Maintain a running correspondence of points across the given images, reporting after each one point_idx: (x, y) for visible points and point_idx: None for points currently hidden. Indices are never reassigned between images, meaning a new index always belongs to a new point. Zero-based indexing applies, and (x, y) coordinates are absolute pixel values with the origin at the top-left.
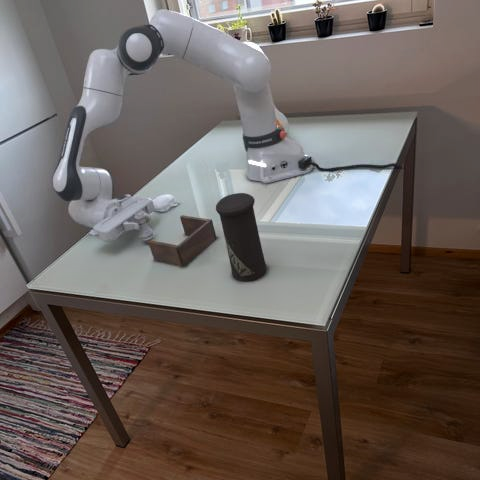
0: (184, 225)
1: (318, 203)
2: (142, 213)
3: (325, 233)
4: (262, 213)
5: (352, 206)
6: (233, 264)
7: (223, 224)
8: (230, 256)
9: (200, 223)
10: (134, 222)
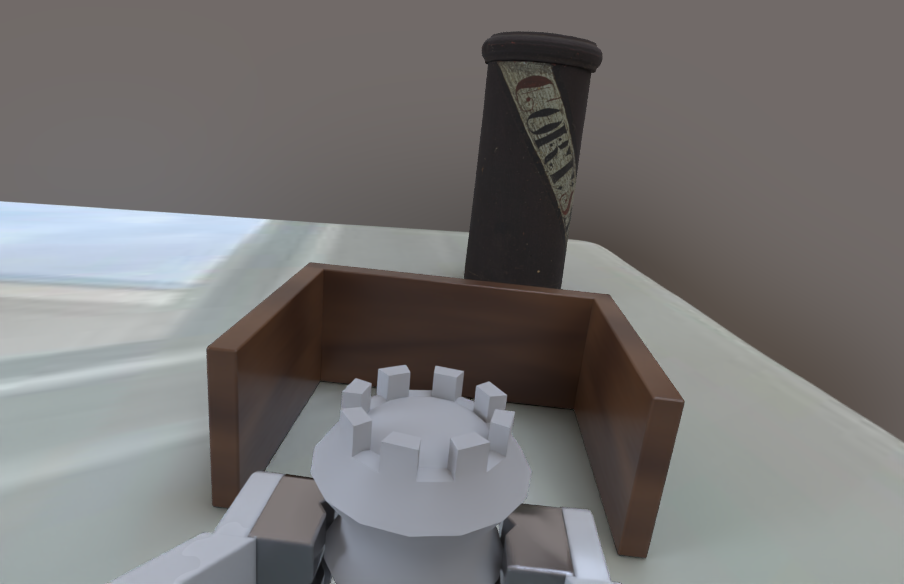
0: (249, 412)
1: (87, 244)
2: (408, 385)
3: (293, 239)
4: (83, 306)
5: (151, 222)
6: (566, 246)
7: (584, 106)
8: (568, 222)
9: (305, 310)
10: (560, 561)
